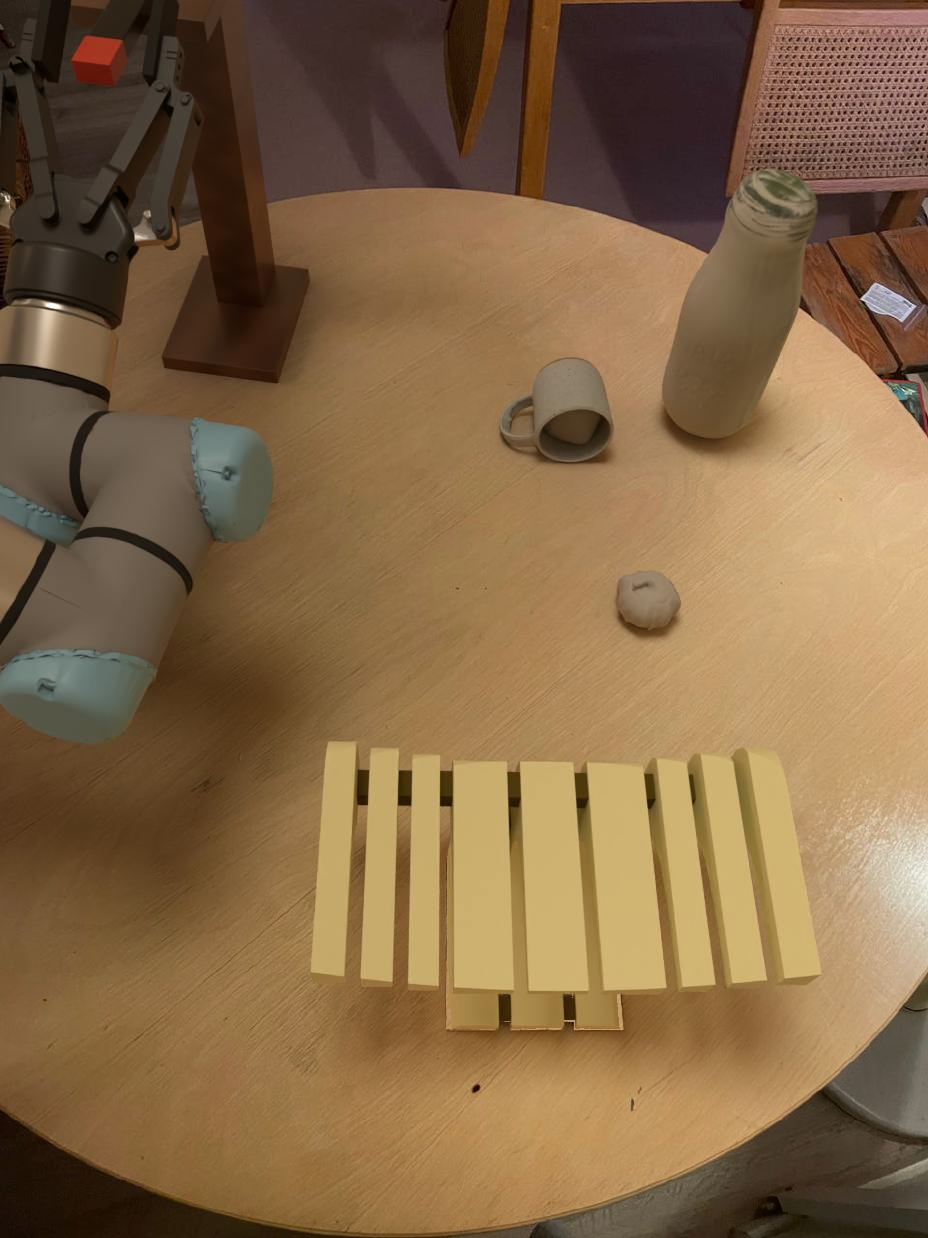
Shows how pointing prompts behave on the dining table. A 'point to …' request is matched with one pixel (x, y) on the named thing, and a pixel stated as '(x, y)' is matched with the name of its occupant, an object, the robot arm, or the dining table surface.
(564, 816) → the slatted curved stool
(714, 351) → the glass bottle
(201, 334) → the wooden post stand
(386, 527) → the dining table surface
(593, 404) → the ceramic mug
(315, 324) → the dining table surface
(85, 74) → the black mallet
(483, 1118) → the dining table surface
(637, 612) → the garlic
